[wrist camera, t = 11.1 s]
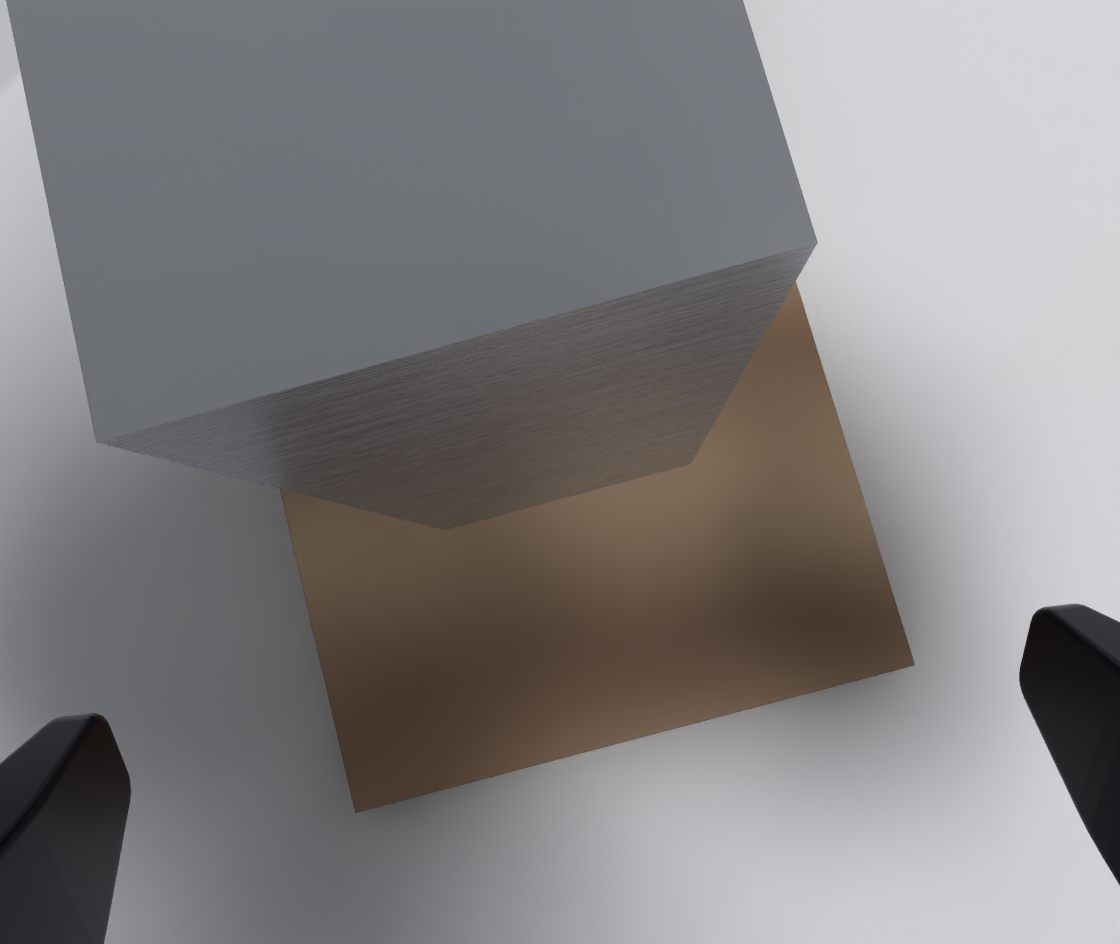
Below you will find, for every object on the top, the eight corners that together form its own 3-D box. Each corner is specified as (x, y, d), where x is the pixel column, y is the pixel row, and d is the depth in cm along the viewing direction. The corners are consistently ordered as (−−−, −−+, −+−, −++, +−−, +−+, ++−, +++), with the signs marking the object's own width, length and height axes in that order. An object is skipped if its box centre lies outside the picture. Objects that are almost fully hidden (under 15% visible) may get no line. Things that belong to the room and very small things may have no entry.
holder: (902, 661, 19) (955, 677, 16) (366, 803, 19) (319, 844, 16) (691, -24, 21) (702, -125, 18) (206, 120, 21) (136, 45, 18)
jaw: (604, 160, 19) (566, -571, 7) (690, 463, 19) (817, 243, 6) (369, 226, 20) (-69, -371, 7) (444, 530, 19) (95, 442, 6)
